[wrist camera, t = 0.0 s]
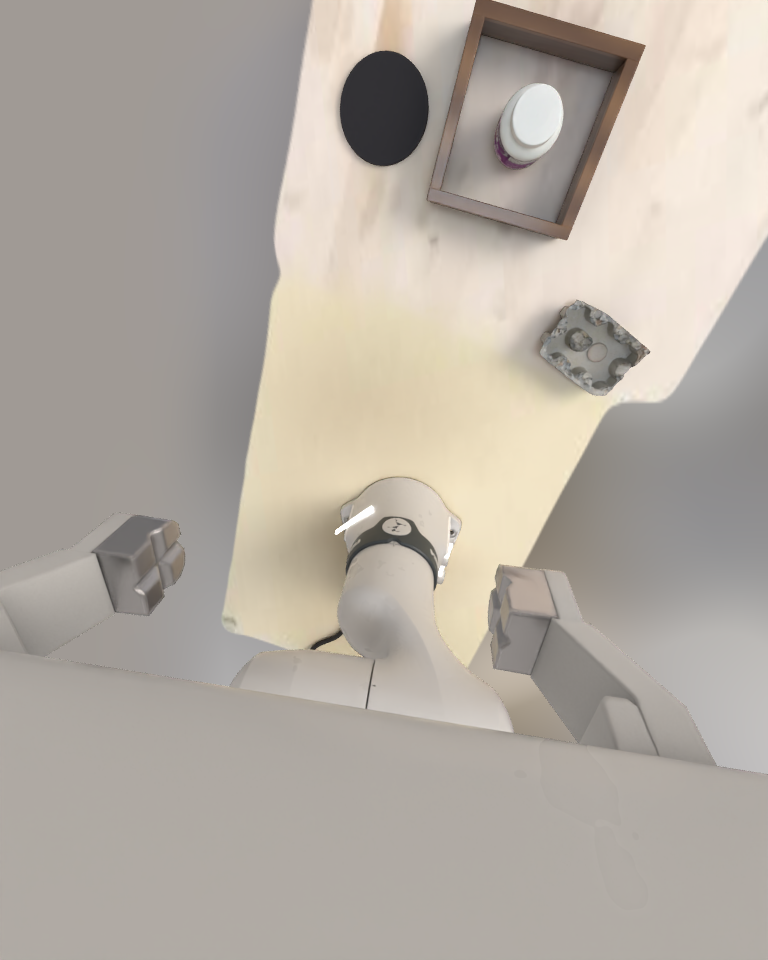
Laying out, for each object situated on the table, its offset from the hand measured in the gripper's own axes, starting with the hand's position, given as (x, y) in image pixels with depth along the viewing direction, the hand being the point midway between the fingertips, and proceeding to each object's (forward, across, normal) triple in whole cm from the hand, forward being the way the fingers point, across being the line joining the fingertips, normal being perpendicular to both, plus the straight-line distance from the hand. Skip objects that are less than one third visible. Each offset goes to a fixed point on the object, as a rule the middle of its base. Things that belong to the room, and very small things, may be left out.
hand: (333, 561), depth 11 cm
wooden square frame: (+48, +8, +17) cm, 51 cm away
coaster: (+48, -6, +18) cm, 52 cm away
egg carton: (+48, +20, -3) cm, 52 cm away
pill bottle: (+48, +8, +17) cm, 52 cm away
